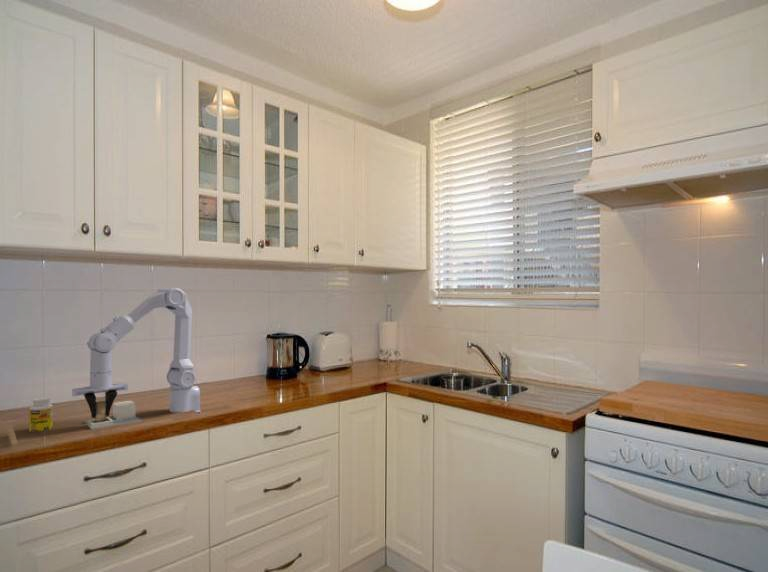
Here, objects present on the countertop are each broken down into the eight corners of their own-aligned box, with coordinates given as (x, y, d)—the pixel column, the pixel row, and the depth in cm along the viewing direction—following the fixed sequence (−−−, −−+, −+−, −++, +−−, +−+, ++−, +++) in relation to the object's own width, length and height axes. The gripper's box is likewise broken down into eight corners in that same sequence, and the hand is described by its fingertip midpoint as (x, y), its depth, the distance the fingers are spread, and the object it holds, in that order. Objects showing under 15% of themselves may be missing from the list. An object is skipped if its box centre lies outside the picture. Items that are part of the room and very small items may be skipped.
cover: (131, 413, 155) (131, 400, 155) (135, 416, 151) (135, 403, 151) (112, 416, 151) (113, 403, 151) (116, 419, 147) (116, 405, 147)
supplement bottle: (26, 436, 133) (26, 401, 133) (32, 431, 138) (32, 397, 138) (49, 434, 135) (50, 399, 136) (54, 429, 140) (55, 396, 141)
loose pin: (104, 419, 143) (105, 400, 143) (106, 421, 140) (107, 402, 141) (93, 421, 141) (93, 402, 141) (95, 423, 138) (95, 403, 139)
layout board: (131, 416, 155) (132, 404, 155) (142, 424, 145) (142, 411, 145) (83, 424, 146) (83, 411, 146) (91, 433, 136) (91, 419, 136)
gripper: (124, 368, 149) (123, 409, 148) (70, 373, 139) (69, 417, 139) (129, 370, 144) (129, 414, 143) (74, 376, 134) (73, 422, 133)
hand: (100, 416), depth 141 cm, fingers closed on loose pin, 3 cm apart
